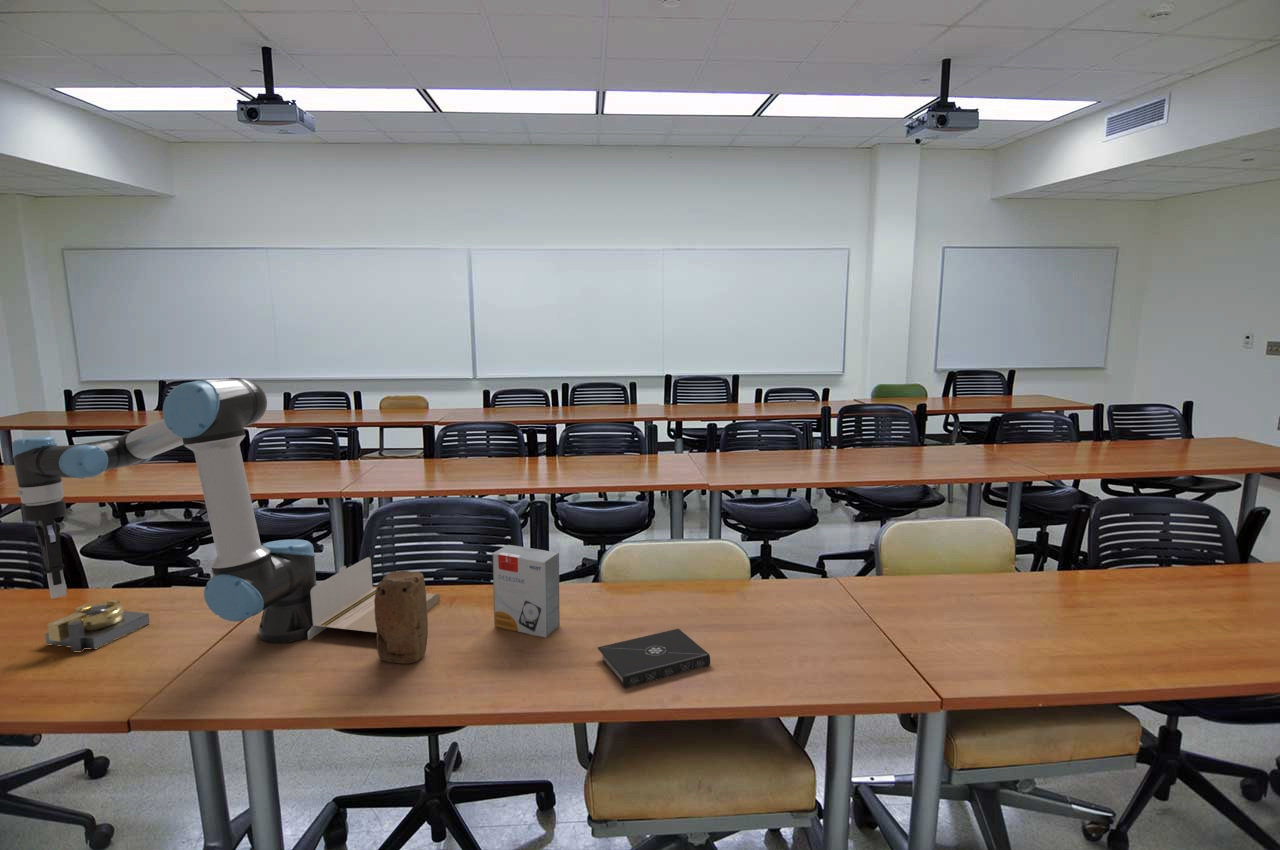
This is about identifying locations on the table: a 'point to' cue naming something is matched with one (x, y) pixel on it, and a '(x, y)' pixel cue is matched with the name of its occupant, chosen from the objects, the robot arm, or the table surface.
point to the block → (401, 617)
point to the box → (348, 600)
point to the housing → (100, 632)
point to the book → (654, 657)
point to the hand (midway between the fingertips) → (58, 596)
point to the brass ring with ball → (88, 618)
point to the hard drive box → (526, 590)
